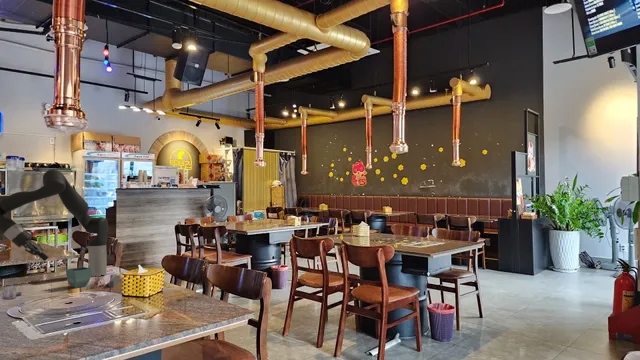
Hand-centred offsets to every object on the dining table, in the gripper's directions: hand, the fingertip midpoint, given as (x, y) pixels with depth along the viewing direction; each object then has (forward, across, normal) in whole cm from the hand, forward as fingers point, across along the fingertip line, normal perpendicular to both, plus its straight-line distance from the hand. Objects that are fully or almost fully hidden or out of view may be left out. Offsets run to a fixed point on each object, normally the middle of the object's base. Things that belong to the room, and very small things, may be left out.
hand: (46, 259), depth 204 cm
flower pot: (+21, 0, 0) cm, 21 cm away
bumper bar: (+32, 0, +11) cm, 34 cm away
